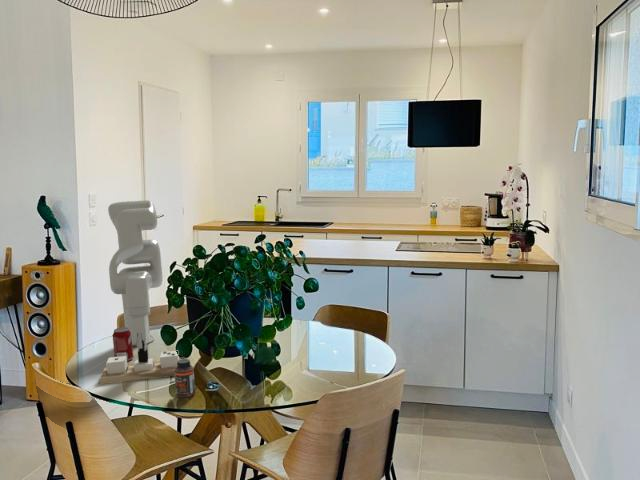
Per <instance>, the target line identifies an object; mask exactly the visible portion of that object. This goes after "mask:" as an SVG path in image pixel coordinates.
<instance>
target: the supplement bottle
mask: <svg viewBox="0 0 640 480" xmlns="http://www.w3.org/2000/svg"><path fill="white" fill-rule="evenodd" d="M177 366H178V367H176V368H175V376H174V381H175V394H176V396H177V397H178V398H181V399H184V398H185V399H187V398H190V397H191V398H192V397H193V396H194V395H196V385H195V383H196V382H195V381H196V380H195V370H194V367H193V365H191V359H189V358H185V359H180V360H178V361H177Z"/></svg>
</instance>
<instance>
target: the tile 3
mask: <svg viewBox="0 0 640 480" xmlns="http://www.w3.org/2000/svg"><path fill="white" fill-rule="evenodd" d="M176 351H177V350H170V351H162V352H161V351H160V356H159V360H160V363H161V369H163V368H172V367H178V366H177V361H178V360H179V358H180V356H178V355H179V353H178V354H177V352H176Z"/></svg>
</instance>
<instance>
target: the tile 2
mask: <svg viewBox="0 0 640 480" xmlns="http://www.w3.org/2000/svg"><path fill="white" fill-rule="evenodd" d="M153 361H154V358H153V357H151V358H148V361H147V362H139V361H138V359H136V360H135V361H134V363H135V364H134V372H136V371H145V370H153V368H154V365H153Z"/></svg>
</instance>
